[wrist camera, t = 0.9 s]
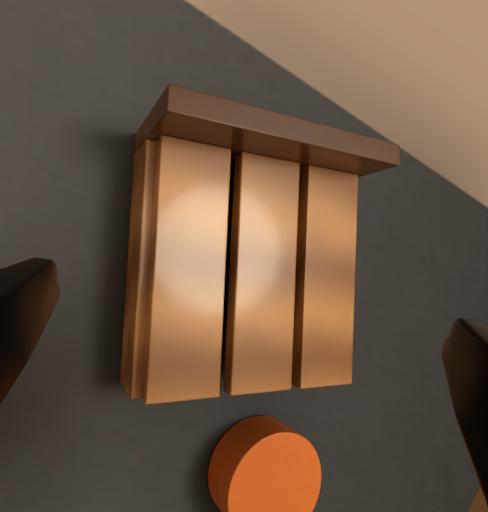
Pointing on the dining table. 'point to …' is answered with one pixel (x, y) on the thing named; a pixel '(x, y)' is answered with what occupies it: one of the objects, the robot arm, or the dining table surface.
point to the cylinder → (264, 469)
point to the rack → (241, 249)
